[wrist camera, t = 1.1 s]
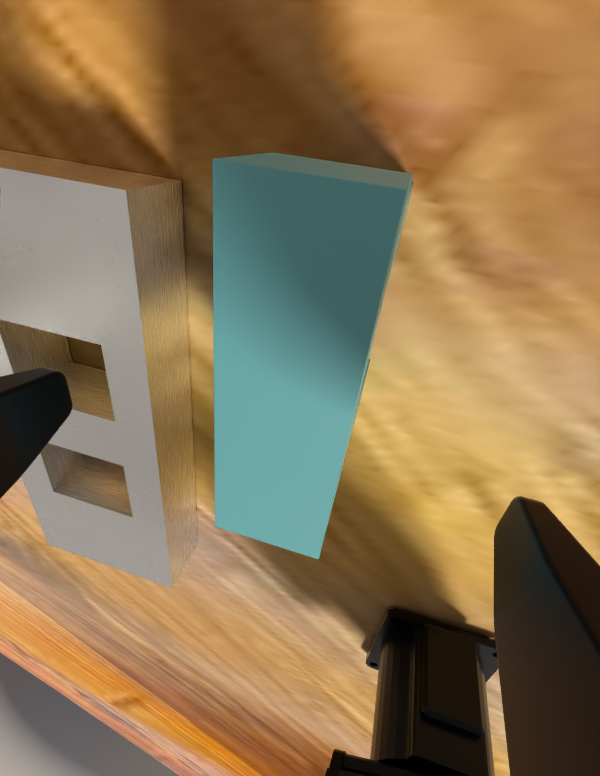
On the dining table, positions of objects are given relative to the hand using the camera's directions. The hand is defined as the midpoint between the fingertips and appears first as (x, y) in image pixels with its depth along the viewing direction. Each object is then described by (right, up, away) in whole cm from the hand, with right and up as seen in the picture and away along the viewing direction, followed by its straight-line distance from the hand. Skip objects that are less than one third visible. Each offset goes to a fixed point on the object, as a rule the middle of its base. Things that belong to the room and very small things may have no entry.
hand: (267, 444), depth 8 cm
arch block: (+2, +4, +6) cm, 8 cm away
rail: (-8, +1, +12) cm, 15 cm away
